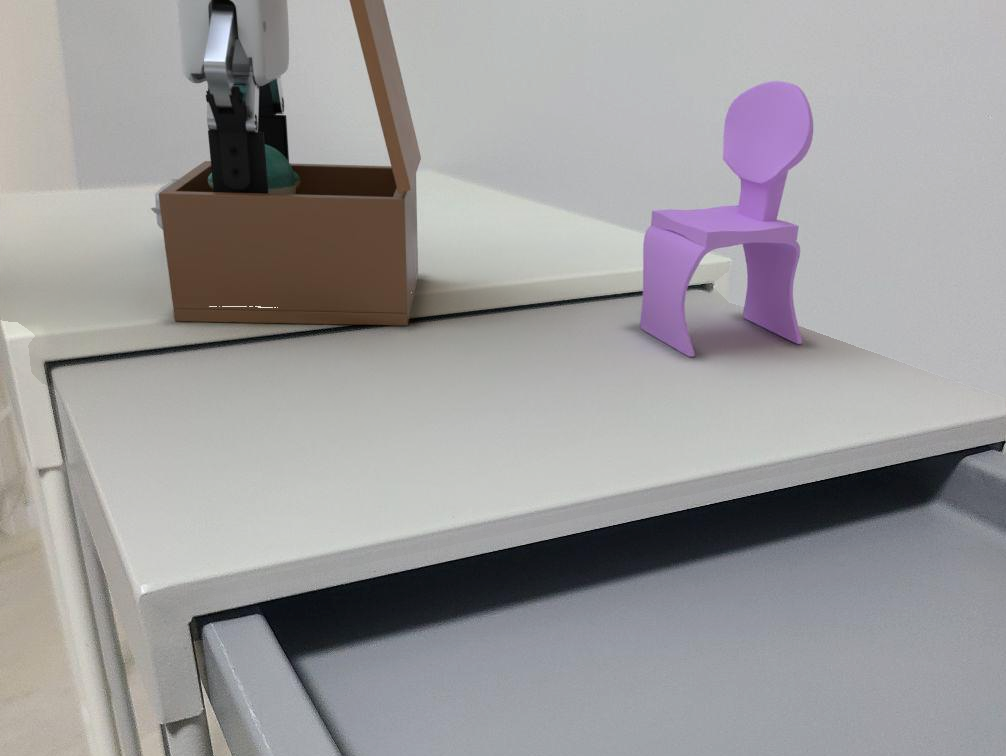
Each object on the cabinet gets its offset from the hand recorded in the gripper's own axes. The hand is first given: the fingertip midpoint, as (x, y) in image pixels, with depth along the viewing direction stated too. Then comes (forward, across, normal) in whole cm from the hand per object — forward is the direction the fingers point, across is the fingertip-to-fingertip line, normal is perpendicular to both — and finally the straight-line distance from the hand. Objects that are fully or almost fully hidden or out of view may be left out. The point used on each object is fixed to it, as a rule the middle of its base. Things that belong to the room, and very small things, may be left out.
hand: (254, 186), depth 69 cm
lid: (-8, 0, +8) cm, 12 cm away
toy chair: (+7, +7, +30) cm, 32 cm away
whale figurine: (+1, 0, 0) cm, 1 cm away
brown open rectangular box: (+7, 0, +3) cm, 8 cm away
